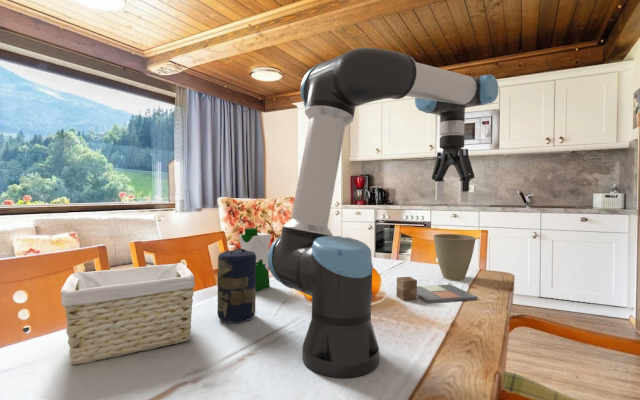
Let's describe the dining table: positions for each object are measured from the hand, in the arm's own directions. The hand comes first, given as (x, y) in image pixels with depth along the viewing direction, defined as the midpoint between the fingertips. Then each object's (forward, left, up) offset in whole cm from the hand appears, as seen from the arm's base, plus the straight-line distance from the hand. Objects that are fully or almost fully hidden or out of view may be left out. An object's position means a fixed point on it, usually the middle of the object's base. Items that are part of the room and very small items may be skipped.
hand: (450, 201), depth 115 cm
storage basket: (-90, -19, -30) cm, 97 cm away
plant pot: (+12, +16, -30) cm, 36 cm away
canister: (-68, -10, -30) cm, 75 cm away
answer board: (-4, -2, -30) cm, 30 cm away
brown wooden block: (-17, -3, -30) cm, 34 cm away
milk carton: (-62, +17, -30) cm, 71 cm away
